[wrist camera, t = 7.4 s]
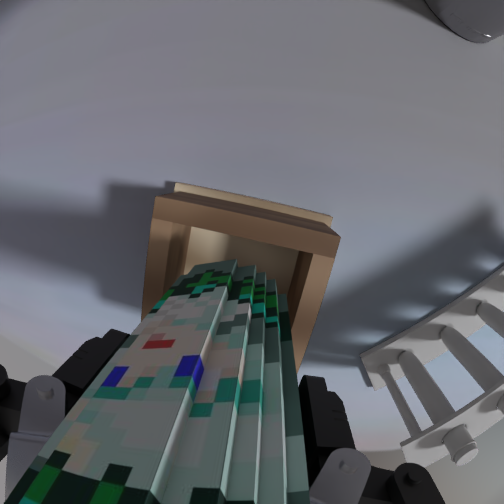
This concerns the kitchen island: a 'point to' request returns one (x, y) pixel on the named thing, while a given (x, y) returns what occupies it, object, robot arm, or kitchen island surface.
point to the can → (187, 406)
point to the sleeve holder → (242, 248)
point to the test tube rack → (433, 400)
